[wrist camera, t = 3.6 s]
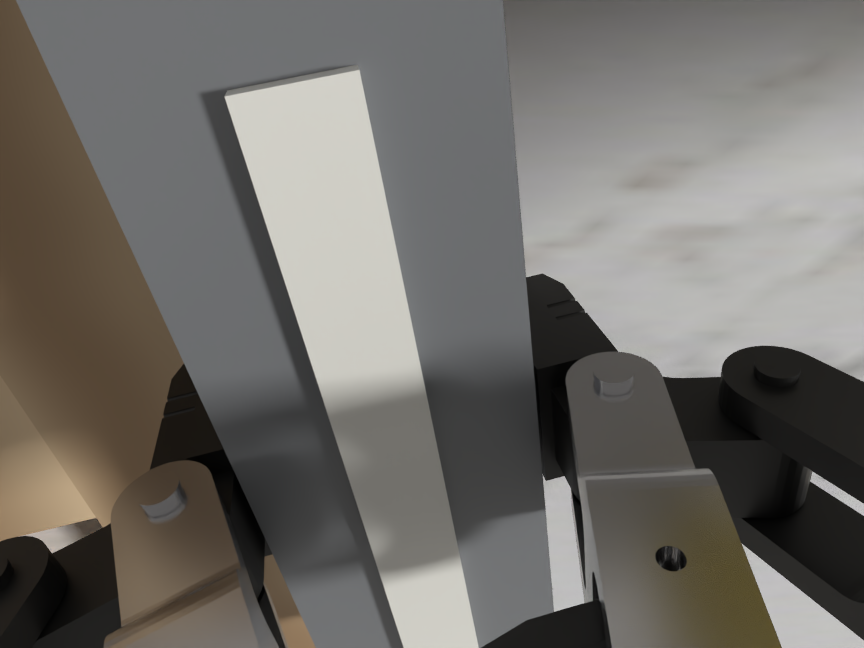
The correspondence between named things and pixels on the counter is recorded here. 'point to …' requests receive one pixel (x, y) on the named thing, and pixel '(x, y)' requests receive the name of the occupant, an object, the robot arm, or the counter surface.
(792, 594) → the counter surface
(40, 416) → the socket board
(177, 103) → the strip
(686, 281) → the counter surface
